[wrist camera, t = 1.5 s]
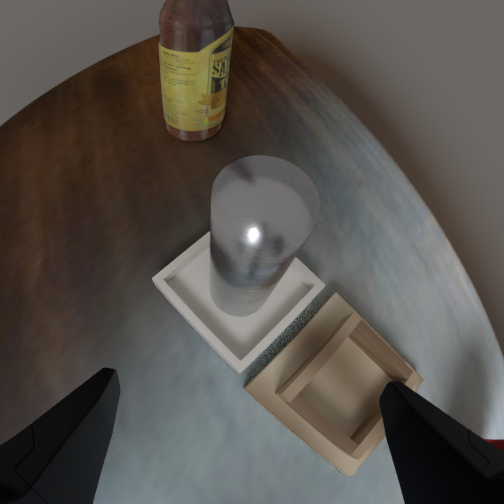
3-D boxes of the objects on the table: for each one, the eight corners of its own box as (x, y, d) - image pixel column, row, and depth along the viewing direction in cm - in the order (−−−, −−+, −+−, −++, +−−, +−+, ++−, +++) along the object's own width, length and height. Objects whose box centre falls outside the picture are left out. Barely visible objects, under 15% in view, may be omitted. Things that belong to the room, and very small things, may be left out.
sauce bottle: (222, 147, 29) (246, -53, 11) (159, 144, 28) (145, -52, 10) (225, 106, 32) (247, -61, 14) (170, 104, 31) (168, -62, 13)
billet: (238, 329, 22) (270, 271, 11) (197, 286, 22) (188, 192, 12) (280, 289, 23) (340, 203, 12) (239, 249, 24) (265, 140, 13)
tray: (238, 373, 21) (240, 373, 19) (155, 286, 23) (151, 278, 21) (318, 292, 24) (325, 285, 23) (239, 217, 26) (241, 206, 24)
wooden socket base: (343, 473, 18) (361, 483, 15) (243, 388, 20) (248, 389, 18) (415, 380, 22) (438, 377, 19) (330, 296, 24) (346, 284, 21)
